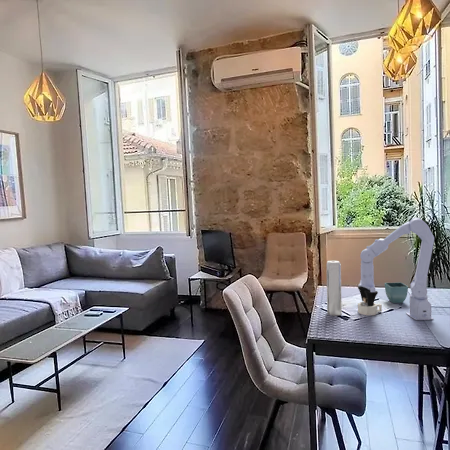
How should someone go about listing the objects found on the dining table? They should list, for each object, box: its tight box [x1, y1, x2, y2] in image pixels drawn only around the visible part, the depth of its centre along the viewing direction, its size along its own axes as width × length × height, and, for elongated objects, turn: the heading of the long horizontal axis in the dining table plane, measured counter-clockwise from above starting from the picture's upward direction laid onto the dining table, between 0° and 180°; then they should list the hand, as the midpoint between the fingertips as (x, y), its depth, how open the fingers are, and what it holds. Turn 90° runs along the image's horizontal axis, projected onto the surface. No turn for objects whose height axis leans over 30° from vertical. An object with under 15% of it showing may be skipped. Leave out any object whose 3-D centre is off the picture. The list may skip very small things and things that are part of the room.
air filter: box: [326, 260, 343, 317], centre depth 185 cm, size 6×6×25 cm
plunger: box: [362, 297, 368, 306], centre depth 186 cm, size 5×5×6 cm
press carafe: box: [357, 301, 383, 316], centre depth 186 cm, size 8×10×4 cm
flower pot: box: [384, 282, 409, 304], centre depth 201 cm, size 9×9×9 cm
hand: (367, 303), depth 186 cm, fingers open, 7 cm apart
